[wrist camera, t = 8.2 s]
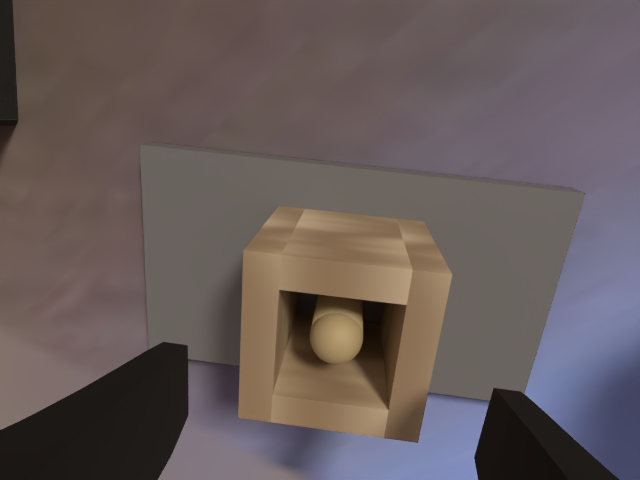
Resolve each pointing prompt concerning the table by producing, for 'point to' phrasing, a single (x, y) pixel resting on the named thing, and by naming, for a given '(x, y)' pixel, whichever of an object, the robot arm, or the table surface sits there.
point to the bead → (378, 339)
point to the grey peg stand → (363, 199)
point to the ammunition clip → (7, 66)
